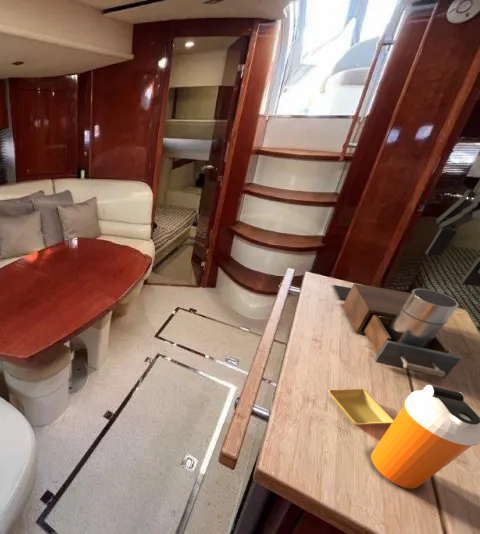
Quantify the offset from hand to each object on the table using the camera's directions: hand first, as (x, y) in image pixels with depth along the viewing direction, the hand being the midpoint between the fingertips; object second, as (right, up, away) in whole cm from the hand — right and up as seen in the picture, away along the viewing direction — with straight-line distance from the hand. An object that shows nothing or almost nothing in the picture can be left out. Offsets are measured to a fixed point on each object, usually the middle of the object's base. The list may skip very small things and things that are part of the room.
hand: (449, 268), depth 70 cm
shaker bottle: (-25, -39, -11) cm, 47 cm away
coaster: (+11, -10, +37) cm, 40 cm away
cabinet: (+7, -17, +24) cm, 31 cm away
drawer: (+1, -24, +11) cm, 27 cm away
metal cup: (+2, -22, +13) cm, 25 cm away
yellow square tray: (-22, -33, -1) cm, 40 cm away
